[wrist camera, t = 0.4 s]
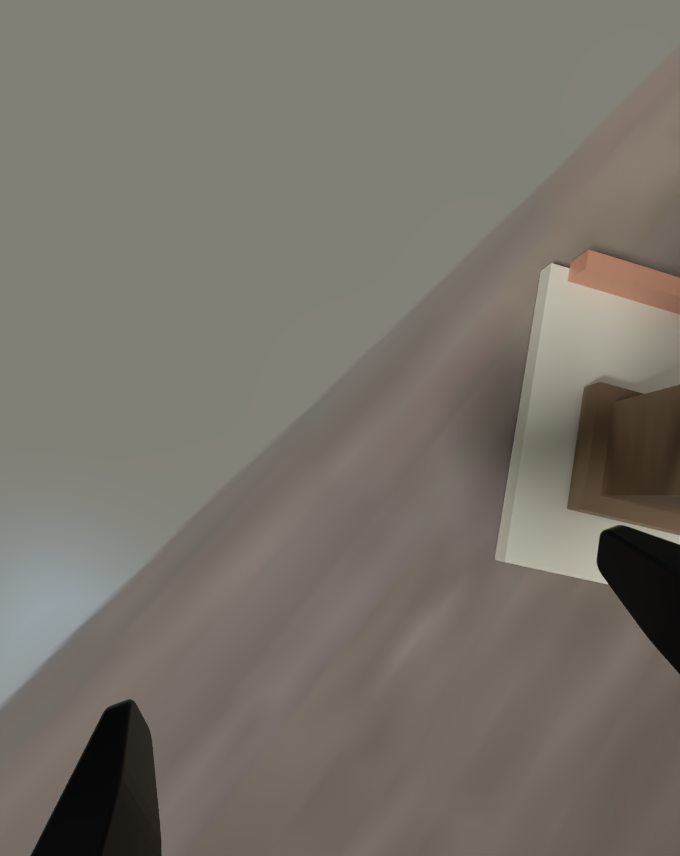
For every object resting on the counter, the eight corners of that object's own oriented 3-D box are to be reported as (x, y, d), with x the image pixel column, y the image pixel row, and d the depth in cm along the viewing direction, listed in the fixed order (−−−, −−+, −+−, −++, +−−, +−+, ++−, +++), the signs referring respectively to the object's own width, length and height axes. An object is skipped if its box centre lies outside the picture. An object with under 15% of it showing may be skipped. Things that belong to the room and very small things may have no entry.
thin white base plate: (696, 603, 27) (741, 613, 24) (494, 559, 25) (521, 566, 23) (723, 320, 29) (766, 304, 27) (541, 266, 28) (569, 243, 25)
